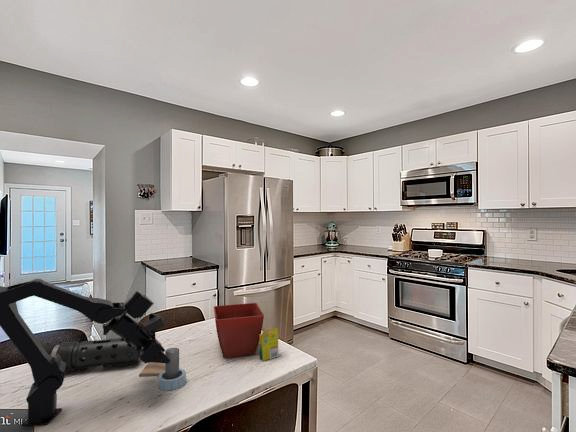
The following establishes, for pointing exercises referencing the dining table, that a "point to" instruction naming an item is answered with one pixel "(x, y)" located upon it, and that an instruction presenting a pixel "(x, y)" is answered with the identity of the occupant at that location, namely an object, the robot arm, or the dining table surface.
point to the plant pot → (238, 328)
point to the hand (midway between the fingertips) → (166, 356)
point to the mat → (153, 369)
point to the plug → (172, 363)
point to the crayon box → (268, 344)
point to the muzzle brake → (96, 353)
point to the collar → (171, 381)
